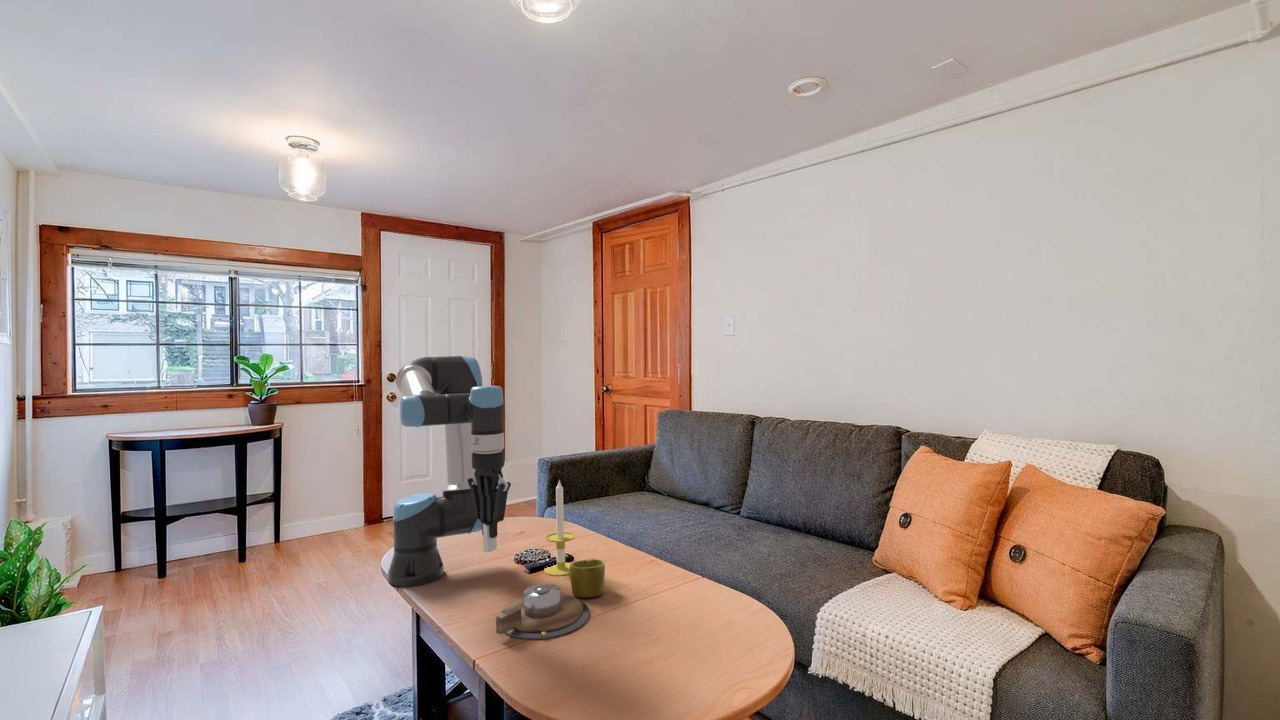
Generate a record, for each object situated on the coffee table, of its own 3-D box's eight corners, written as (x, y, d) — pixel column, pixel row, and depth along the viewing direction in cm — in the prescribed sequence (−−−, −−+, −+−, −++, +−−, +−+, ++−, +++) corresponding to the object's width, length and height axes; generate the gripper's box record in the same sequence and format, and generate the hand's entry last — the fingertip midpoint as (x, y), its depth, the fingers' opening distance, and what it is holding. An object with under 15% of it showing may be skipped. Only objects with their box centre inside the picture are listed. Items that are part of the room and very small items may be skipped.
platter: (471, 626, 133) (471, 606, 133) (543, 591, 152) (543, 574, 152) (528, 649, 122) (528, 628, 122) (599, 608, 141) (598, 590, 141)
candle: (584, 570, 168) (582, 479, 168) (553, 578, 162) (551, 484, 162) (568, 561, 176) (566, 474, 176) (538, 568, 171) (536, 478, 170)
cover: (516, 614, 137) (515, 592, 136) (538, 598, 145) (537, 578, 144) (547, 621, 133) (546, 598, 132) (568, 604, 141) (567, 583, 140)
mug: (605, 596, 145) (595, 556, 148) (568, 606, 147) (559, 567, 150) (619, 587, 157) (609, 550, 159) (585, 596, 159) (576, 560, 161)
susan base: (477, 623, 136) (477, 617, 136) (544, 591, 154) (544, 586, 154) (543, 649, 123) (543, 643, 123) (607, 611, 141) (607, 605, 141)
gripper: (457, 451, 136) (459, 550, 136) (493, 455, 128) (496, 560, 128) (482, 446, 142) (484, 541, 142) (518, 450, 134) (521, 550, 135)
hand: (490, 550), depth 135 cm, fingers closed
